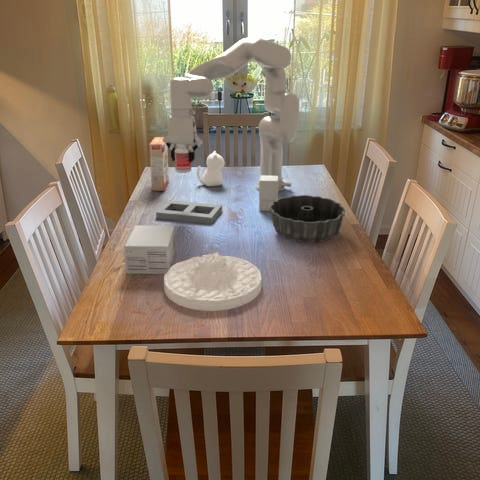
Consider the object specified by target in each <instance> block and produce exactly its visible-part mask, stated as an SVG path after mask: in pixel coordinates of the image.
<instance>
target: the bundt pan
mask: <svg viewBox="0 0 480 480" xmlns="http://www.w3.org/2000/svg"><path fill="white" fill-rule="evenodd" d="M270 210H271V211H270V213H271V221H272V226H273V229H274V230H275V232H276V233H277V234H278V235H279V236H281V237H283V238H285V239H287V240H290V241H291V240H293V241H294V242H295V243H299V242H303V243H304V244H305V243H306V244H309V243H313V242H314V243H321V242H322V241H328V240H331V238H333V237H335V236H336V235H337V234H338V233H339V232H340V230H341V226H342V222H343V219H344V217H345V215H346V214H345V213H346V208H345V207H344V206H343V205H342V203H340V202H336V200H334V199H331V198H327V197H323V196H319V195H317V196H315V195H313V196H312V195H308V194H307V195H306V194H304V195H302V194H301V195H289V196H283V197H280V198H279V197H278V200H277V201H274V202H272V205H270Z"/></svg>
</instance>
